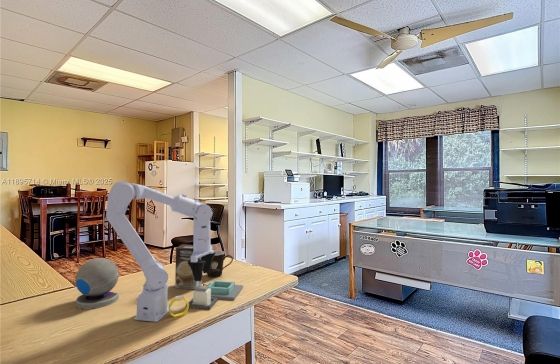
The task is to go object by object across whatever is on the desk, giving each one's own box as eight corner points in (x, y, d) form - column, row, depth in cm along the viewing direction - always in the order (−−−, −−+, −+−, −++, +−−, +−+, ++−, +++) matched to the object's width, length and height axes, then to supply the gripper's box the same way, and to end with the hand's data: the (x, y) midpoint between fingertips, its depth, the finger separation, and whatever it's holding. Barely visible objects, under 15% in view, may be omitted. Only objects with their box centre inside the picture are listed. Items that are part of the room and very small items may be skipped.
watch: (186, 312, 97) (188, 294, 97) (188, 316, 94) (190, 297, 95) (167, 315, 94) (169, 296, 94) (169, 319, 91) (170, 299, 92)
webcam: (126, 296, 108) (126, 255, 108) (96, 311, 96) (96, 265, 96) (98, 292, 112) (98, 252, 111) (65, 306, 99) (65, 262, 99)
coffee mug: (200, 277, 130) (201, 254, 129) (211, 271, 138) (211, 249, 138) (224, 280, 126) (225, 256, 126) (233, 273, 134) (233, 252, 134)
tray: (210, 309, 98) (210, 306, 98) (185, 307, 100) (185, 304, 100) (217, 300, 105) (217, 297, 105) (194, 298, 107) (194, 296, 107)
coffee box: (174, 288, 116) (174, 247, 116) (181, 282, 123) (181, 244, 122) (196, 289, 115) (197, 248, 115) (202, 283, 122) (202, 244, 122)
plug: (206, 307, 100) (207, 289, 100) (193, 305, 101) (193, 288, 101) (210, 302, 104) (210, 285, 104) (197, 301, 105) (197, 284, 105)
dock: (234, 300, 106) (234, 291, 106) (197, 297, 108) (197, 289, 108) (243, 287, 118) (243, 280, 118) (209, 285, 120) (209, 278, 120)
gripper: (205, 243, 94) (205, 285, 95) (220, 233, 109) (220, 270, 109) (184, 242, 95) (184, 284, 96) (201, 233, 110) (202, 269, 110)
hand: (202, 276), depth 103 cm, fingers open, 7 cm apart
